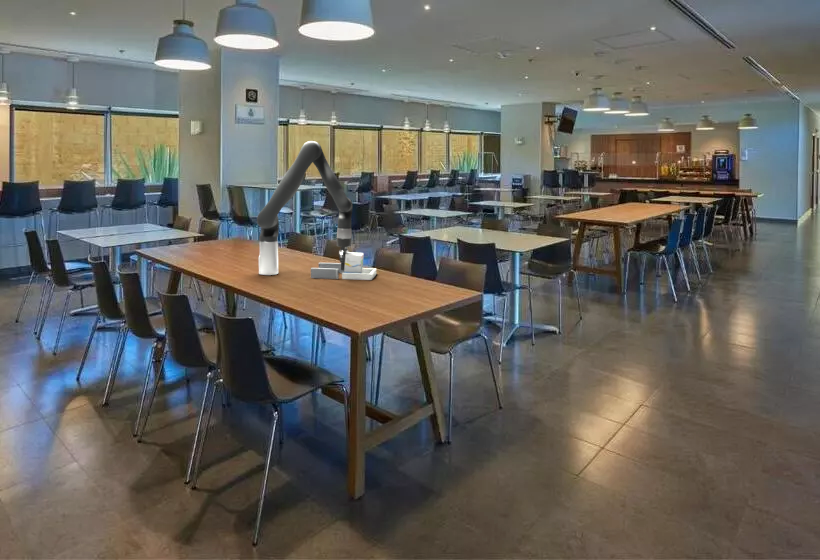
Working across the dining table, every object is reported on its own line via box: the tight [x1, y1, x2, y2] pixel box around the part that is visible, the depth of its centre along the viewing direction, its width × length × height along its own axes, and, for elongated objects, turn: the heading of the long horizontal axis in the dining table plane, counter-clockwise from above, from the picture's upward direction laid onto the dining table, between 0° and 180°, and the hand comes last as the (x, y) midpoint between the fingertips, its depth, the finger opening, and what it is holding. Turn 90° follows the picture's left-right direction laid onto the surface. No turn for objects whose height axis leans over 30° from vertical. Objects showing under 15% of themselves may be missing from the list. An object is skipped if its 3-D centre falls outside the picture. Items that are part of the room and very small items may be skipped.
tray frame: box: [341, 267, 377, 281], centre depth 313 cm, size 15×16×3 cm
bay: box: [310, 262, 344, 280], centre depth 314 cm, size 14×18×5 cm
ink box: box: [344, 251, 364, 273], centre depth 312 cm, size 8×8×12 cm
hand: (343, 269), depth 313 cm, fingers closed
